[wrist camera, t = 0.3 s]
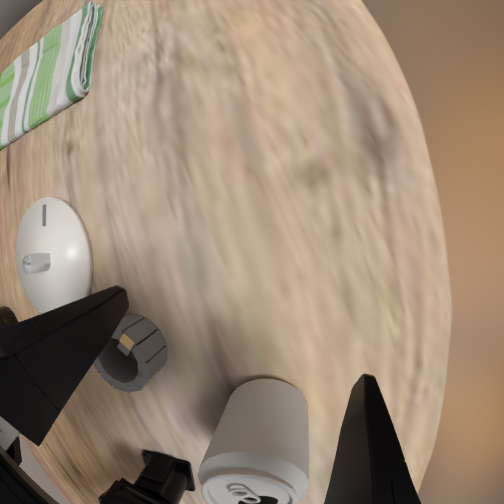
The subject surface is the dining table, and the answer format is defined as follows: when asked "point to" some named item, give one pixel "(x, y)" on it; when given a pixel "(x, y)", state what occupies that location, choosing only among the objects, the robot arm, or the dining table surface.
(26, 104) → the dish towel
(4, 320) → the supplement bottle
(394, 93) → the dining table surface
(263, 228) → the dining table surface
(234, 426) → the can
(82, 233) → the shaft hub
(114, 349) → the grey segmented ring
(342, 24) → the dining table surface
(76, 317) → the robot arm
